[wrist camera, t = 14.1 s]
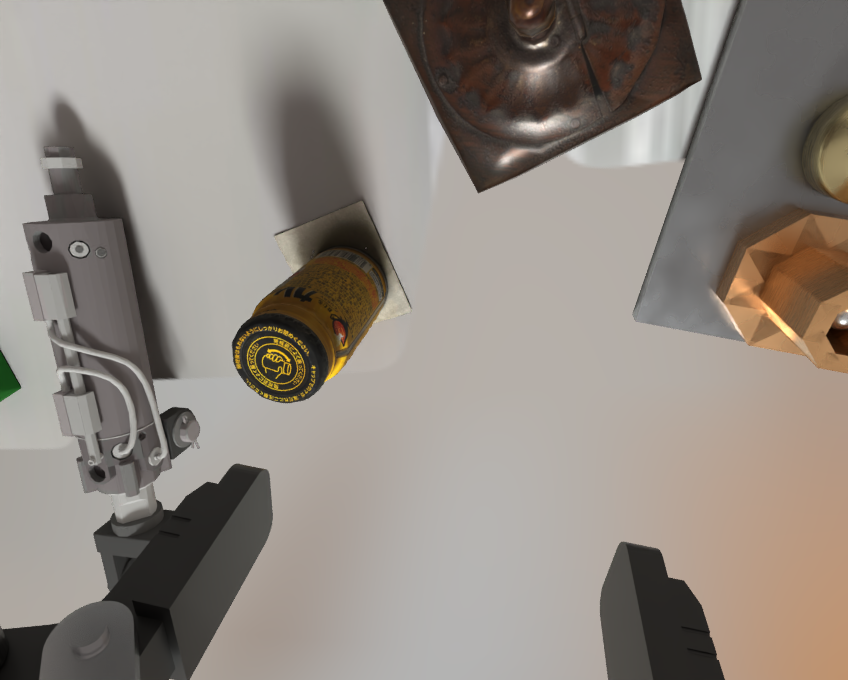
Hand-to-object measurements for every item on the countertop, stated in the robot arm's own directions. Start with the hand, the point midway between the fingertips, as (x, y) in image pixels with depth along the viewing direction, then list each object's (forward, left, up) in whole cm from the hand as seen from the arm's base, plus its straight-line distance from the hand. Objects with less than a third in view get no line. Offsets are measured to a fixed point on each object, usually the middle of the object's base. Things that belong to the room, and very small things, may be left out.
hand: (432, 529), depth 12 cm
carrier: (-8, +18, -25) cm, 32 cm away
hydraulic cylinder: (+16, -26, -26) cm, 40 cm away
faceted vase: (-1, +18, -24) cm, 30 cm away
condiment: (+5, -10, -26) cm, 28 cm away
